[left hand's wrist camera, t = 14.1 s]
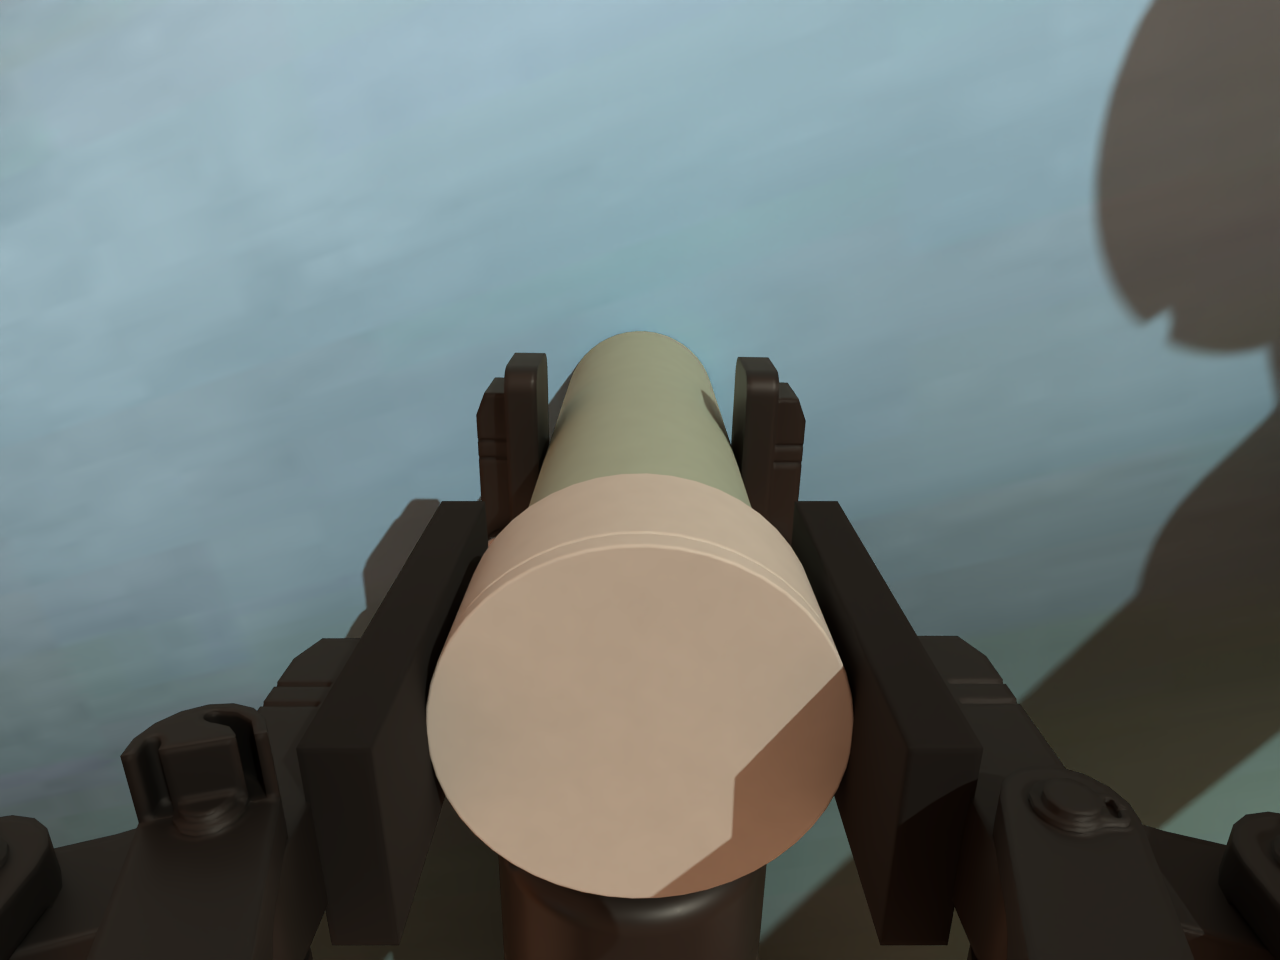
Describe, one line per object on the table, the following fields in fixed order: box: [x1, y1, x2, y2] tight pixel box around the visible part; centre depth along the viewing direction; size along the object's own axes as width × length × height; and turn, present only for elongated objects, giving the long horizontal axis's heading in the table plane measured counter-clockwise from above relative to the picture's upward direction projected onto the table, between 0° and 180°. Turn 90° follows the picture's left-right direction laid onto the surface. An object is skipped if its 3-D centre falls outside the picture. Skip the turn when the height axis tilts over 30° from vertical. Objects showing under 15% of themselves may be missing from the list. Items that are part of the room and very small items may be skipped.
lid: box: [426, 473, 854, 898], centre depth 12 cm, size 5×6×2 cm
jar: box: [528, 331, 751, 508], centre depth 18 cm, size 4×4×15 cm
